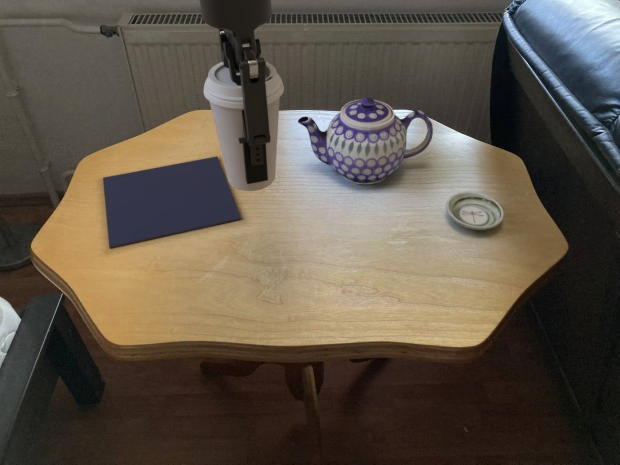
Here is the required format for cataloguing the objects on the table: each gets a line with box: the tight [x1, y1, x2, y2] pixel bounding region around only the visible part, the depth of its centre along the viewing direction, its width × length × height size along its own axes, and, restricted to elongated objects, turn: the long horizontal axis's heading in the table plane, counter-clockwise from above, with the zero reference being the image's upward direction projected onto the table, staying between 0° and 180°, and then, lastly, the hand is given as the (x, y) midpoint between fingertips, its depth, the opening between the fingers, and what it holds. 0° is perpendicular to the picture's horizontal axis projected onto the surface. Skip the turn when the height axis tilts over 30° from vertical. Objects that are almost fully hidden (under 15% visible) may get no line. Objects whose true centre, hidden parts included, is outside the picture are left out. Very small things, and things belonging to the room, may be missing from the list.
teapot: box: [297, 96, 434, 185], centre depth 95 cm, size 25×15×15 cm, turn 90°
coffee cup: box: [202, 61, 285, 192], centre depth 65 cm, size 10×10×15 cm
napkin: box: [102, 155, 242, 249], centre depth 93 cm, size 22×20×1 cm
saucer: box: [445, 191, 505, 231], centre depth 88 cm, size 10×10×2 cm
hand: (249, 163), depth 68 cm, fingers closed on coffee cup, 7 cm apart
